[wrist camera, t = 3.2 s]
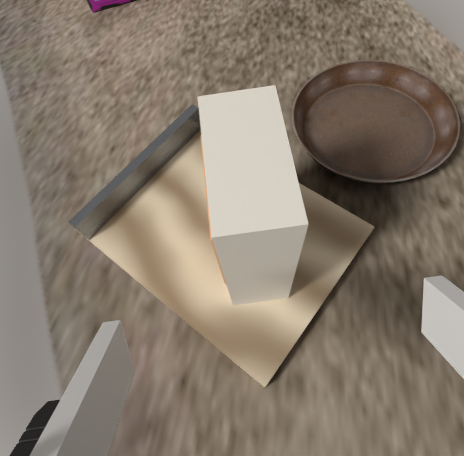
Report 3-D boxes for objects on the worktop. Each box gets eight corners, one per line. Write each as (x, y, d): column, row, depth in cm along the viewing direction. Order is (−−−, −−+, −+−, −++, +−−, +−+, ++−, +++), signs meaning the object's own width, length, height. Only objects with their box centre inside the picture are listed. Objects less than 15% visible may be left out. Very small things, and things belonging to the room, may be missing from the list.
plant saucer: (259, 133, 42) (259, 115, 39) (355, 59, 46) (361, 37, 43) (379, 228, 35) (389, 214, 33) (478, 131, 40) (495, 111, 37)
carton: (270, 202, 36) (275, 85, 22) (288, 298, 31) (308, 224, 18) (218, 210, 36) (192, 97, 22) (229, 306, 31) (205, 238, 18)
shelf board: (192, 128, 43) (190, 119, 41) (370, 233, 35) (374, 226, 34) (83, 235, 37) (76, 229, 36) (264, 388, 29) (264, 387, 28)
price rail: (195, 122, 41) (190, 103, 38) (203, 127, 41) (198, 108, 38) (81, 234, 36) (67, 220, 33) (89, 240, 35) (74, 227, 33)
